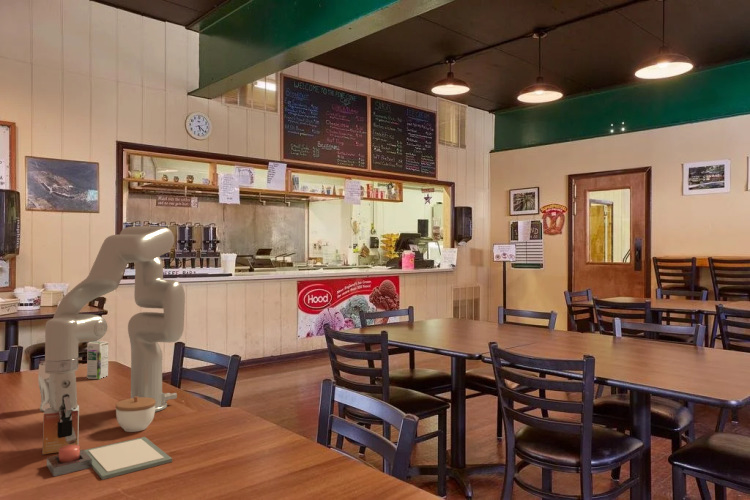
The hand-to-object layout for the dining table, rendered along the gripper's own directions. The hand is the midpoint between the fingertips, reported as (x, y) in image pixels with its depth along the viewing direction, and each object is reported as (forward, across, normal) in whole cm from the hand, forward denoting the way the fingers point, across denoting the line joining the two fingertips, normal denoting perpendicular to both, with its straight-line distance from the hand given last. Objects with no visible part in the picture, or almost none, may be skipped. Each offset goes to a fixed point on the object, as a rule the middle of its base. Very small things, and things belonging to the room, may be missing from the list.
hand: (61, 431), depth 140 cm
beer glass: (+5, +41, -5) cm, 42 cm away
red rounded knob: (+3, -14, +1) cm, 14 cm away
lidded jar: (+5, +4, -20) cm, 21 cm away
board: (+5, -17, -11) cm, 21 cm away
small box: (+5, 0, 0) cm, 5 cm away
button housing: (+5, -14, +1) cm, 15 cm away
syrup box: (+5, +77, -28) cm, 82 cm away
